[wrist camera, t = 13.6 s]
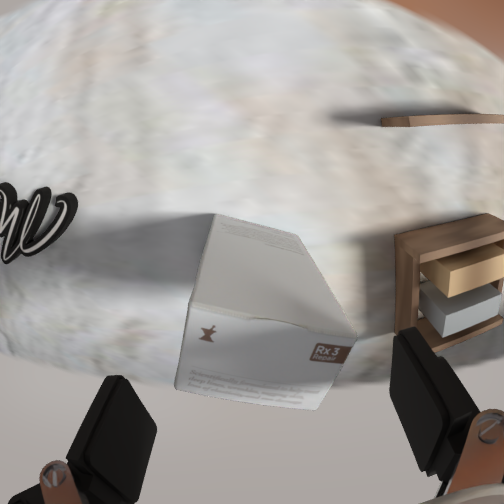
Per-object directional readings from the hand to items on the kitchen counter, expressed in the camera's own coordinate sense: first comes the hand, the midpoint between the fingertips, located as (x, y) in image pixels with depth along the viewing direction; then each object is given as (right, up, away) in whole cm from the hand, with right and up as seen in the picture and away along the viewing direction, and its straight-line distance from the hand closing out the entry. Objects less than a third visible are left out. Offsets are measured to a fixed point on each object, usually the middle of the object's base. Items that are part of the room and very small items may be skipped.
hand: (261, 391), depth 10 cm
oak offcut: (+15, +5, +12) cm, 20 cm away
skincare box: (0, +5, +12) cm, 13 cm away
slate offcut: (+16, +2, +13) cm, 21 cm away
